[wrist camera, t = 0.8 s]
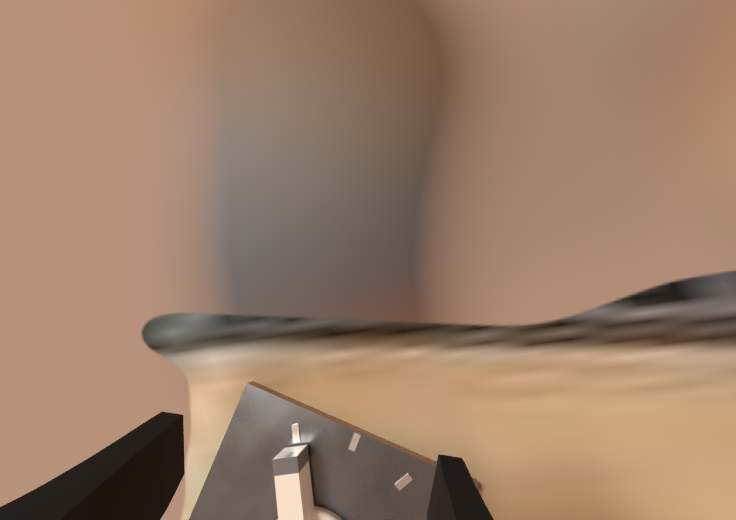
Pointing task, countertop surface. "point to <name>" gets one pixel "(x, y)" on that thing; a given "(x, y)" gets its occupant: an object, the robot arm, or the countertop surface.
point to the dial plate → (311, 465)
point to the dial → (296, 487)
